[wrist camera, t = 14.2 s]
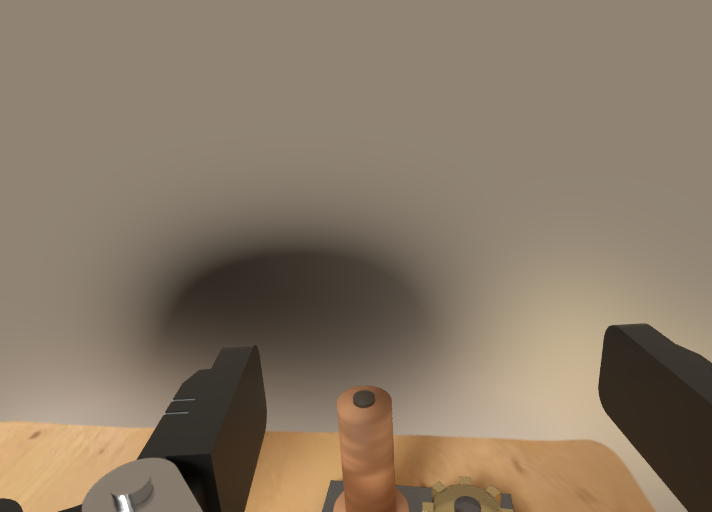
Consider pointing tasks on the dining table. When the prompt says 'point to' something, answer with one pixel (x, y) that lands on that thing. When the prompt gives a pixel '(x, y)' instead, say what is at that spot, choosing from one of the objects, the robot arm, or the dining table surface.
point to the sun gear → (464, 498)
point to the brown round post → (367, 452)
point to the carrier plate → (412, 495)
